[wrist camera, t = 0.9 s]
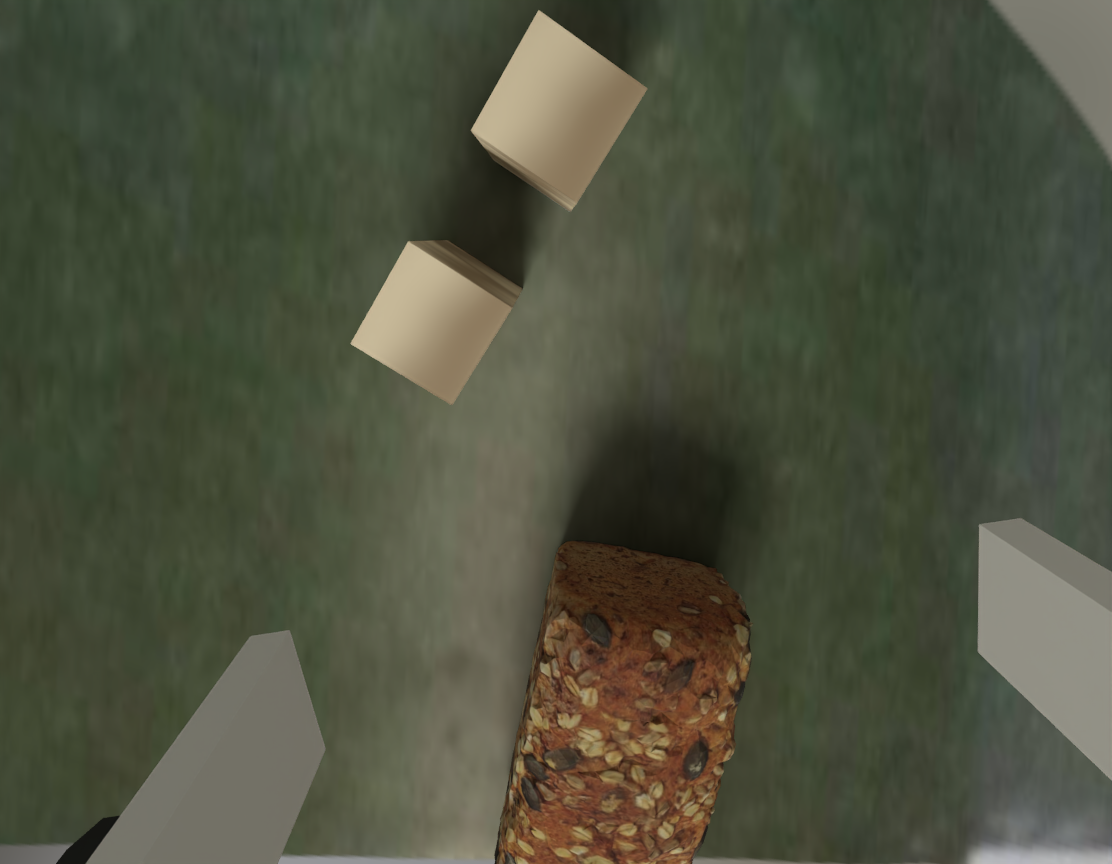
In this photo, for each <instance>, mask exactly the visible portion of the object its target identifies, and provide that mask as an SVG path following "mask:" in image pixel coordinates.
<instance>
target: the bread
mask: <svg viewBox="0 0 1112 864" xmlns="http://www.w3.org/2000/svg"><path fill="white" fill-rule="evenodd" d="M728 584H729V582H727V581H726V580H724V578H723V575H722V574H721V573H718V572H717V570H716V568H710V567H706V566H704V565H702V564H700V563H696V562H692V561H688V560H684V559H680V558H676V557H666V556H663V555H659V554H656V553H650V552H642V551H636V550H631V549H629V548H626V547H624V546H613V545H607V544H601V543H596V542H587V541H567V542H565V543H564V544H562V545H561V546H560V547H559V548H558V553H557V552H556V557H555V561H554V567H553V571H552V578H551V581H550V583H549V585H548V589H547V594H546V598H545V606H544V613H543V618H542V622H541V626H540V630H539V634H538V639H537V644H536V648H535V651H534V655H533V661H532V668H531V671H530V676H529V680H528V685H527V690H526V696H525V700H524V705H523V710H522V715H521V720H520V725H519V729H518V732H517V737H516V743H515V749H514V752H513V757H512V763H511V769H510V774H509V781H508V786H507V792H506V797H505V802H504V807H503V811H502V815H501V818H500V821H501V822H500V827H499V831H498V840H497V845H496V850H495V855H494V856H495V864H692V860H693V859H694V857H695V856H696V854H697V853H698V851H699V849H700V848H701V846H702V844H703V842H704V839H705V835H706V832H707V829H708V826H707V825H708V824H709V823H710V816H711V815H712V813H713V812H714V810H715V809H714V804H715V801H716V798H717V795H718V794H717V791H718V789H719V788H720V783H721V779H720V777H721V776H722V774H723V772H724V767H723V762H724V761H727V760H729V759H730V758H731V756H732V754H733V753H734V750H735V746H736V743H735V740H734V730H735V724H734V719H735V715H736V710H737V706H738V704H739V702H740V700H741V698H742V696H743V692H744V688H745V681H746V680H747V677H748V674H749V670H750V665H751V659H752V658H751V651H750V645H749V640H750V635H751V633H750V627H751V626H752V624H753V623H751V622H750V619H749V617H748V615H747V613H746V607H745V603H744V602H743V601H742V599H741V595H740V594H739V593H737V592H736V591H735V590H733V589H732V588H731V587H730V586H728Z"/></svg>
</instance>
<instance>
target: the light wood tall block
mask: <svg viewBox="0 0 1112 864" xmlns="http://www.w3.org/2000/svg"><path fill="white" fill-rule="evenodd" d="M521 291H522V288H521V287H519V286H518V285H516V284H514V283H513V282H511V281H510V280H508V279H507V278H505V277H504V276H502V275H501V274H499V273H497V272H496V271H494V270H493V269H491V268H490V267H488V266H487V265H485V264H484V263H482V262H481V261H479V260H477V259H476V258H474V257H473V256H471V255H470V254H468V253H467V252H465V251H464V250H462V249H460V248H459V247H457V246H456V245H454V244H453V243H451V242H450V241H448V240H435V241H408V243H407V245H406V246H405V248H404V250H403V252H402V253H401V255H400V257H399V259H398V261H397V262H396V264H395V266H394V268H393V269H392V271H391V273H390V275H389V276H388V278H387V280H386V282H385V284H384V285H383V287H382V289H381V291H380V292H379V294H378V296H377V298H376V300H375V301H374V303H373V305H372V307H371V308H370V310H369V312H368V314H367V315H366V317H365V319H364V321H363V323H362V324H361V326H360V328H359V330H358V331H357V333H356V335H355V337H354V339H353V340H352V342H351V344H352V345H353V346H355V347H357V348H358V349H360V350H362V351H363V352H365V353H367V354H368V355H370V356H371V357H373V358H375V359H376V360H378V361H380V362H381V363H383V364H385V365H386V366H388V367H390V368H391V369H393V370H395V371H396V372H398V373H399V374H401V375H403V376H404V377H406V378H408V379H409V380H411V381H413V382H414V383H416V384H418V385H419V386H421V387H423V388H424V389H426V390H428V391H429V392H431V393H432V394H434V395H436V396H437V397H439V398H441V399H442V400H444V401H446V402H447V403H449V404H451V405H453V403H454V401H455V400H456V398H457V397H458V395H459V393H460V392H461V390H462V388H463V387H464V385H465V384H466V382H467V380H468V379H469V377H470V375H471V374H472V372H473V371H474V369H475V367H476V366H477V364H478V363H479V361H480V359H481V358H482V356H483V354H484V353H485V351H486V350H487V348H488V346H489V345H490V343H491V341H492V340H493V338H494V337H495V335H496V333H497V332H498V330H499V329H500V327H501V325H502V324H503V322H504V320H505V319H506V317H507V316H508V314H509V312H510V311H511V309H512V307H513V306H514V304H515V302H516V300H517V298H518V297H519V295H520V293H521Z"/></svg>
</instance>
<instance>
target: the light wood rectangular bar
mask: <svg viewBox="0 0 1112 864" xmlns="http://www.w3.org/2000/svg"><path fill="white" fill-rule="evenodd" d="M646 90H647V88H646V87H645V86H643V85H642V84H641V83H639V82H638V81H636V80H635V79H634V78H632V77H631V76H629V75H628V74H627V73H625V72H624V71H623V70H621V69H620V68H618V67H617V66H616V65H614V64H613V63H611V62H610V61H609V60H607V59H606V58H605V57H603V56H602V55H600V54H599V53H598V52H596V51H595V50H593V49H592V48H591V47H589V46H588V45H587V44H585V43H584V42H582V41H581V40H580V39H578V38H577V37H575V36H574V35H573V34H571V33H570V32H569V31H567V30H566V29H564V28H563V27H562V26H560V25H559V24H557V23H556V22H555V21H553V20H552V19H551V18H549V17H548V16H546V15H545V14H544V13H542V12H541V11H539V10H538V12H537V14H536V16H535V17H534V19H533V21H532V23H531V25H530V26H529V28H528V30H527V32H526V33H525V35H524V37H523V39H522V40H521V42H520V44H519V46H518V48H517V49H516V51H515V53H514V55H513V56H512V58H511V60H510V62H509V64H508V65H507V67H506V69H505V71H504V72H503V74H502V76H501V78H500V79H499V81H498V83H497V85H496V87H495V88H494V90H493V92H492V94H491V95H490V97H489V99H488V101H487V103H486V104H485V106H484V108H483V110H482V111H481V113H480V115H479V117H478V119H477V120H476V122H475V124H474V126H473V127H472V129H471V131H472V133H473V134H474V135H475V137H476V138H477V139H478V141H479V142H480V143H481V144H482V146H483V147H484V148H485V150H486V151H487V152H488V154H489V155H490V156H491V158H492V159H493V160H494V161H495V162H497V163H498V164H500V165H501V166H503V167H504V168H506V169H507V170H509V171H510V172H511V173H513V174H514V175H516V176H517V177H519V178H520V179H522V180H523V181H525V182H526V183H528V184H529V185H531V186H532V187H534V188H535V189H537V190H538V191H540V192H541V193H543V194H544V195H546V196H547V197H548V198H550V199H551V200H553V201H554V202H556V203H557V204H559V205H560V206H562V207H563V208H565V209H566V210H568V211H569V212H571V210H572V209H573V208H574V206H575V205H576V204H577V202H578V200H579V199H580V197H581V196H582V194H583V192H584V191H585V189H586V187H587V186H588V184H589V183H590V181H591V179H592V178H593V176H594V175H595V173H596V171H597V170H598V168H599V166H600V165H601V163H602V162H603V160H604V158H605V157H606V155H607V154H608V152H609V150H610V149H611V147H612V145H613V144H614V142H615V141H616V139H617V137H618V136H619V134H620V132H621V131H622V129H623V128H624V126H625V124H626V123H627V121H628V120H629V118H630V116H631V115H632V113H633V111H634V110H635V108H636V107H637V105H638V103H639V102H640V100H641V98H642V97H643V95H644V94H645V92H646Z"/></svg>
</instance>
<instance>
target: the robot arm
mask: <svg viewBox="0 0 1112 864" xmlns="http://www.w3.org/2000/svg"><path fill="white" fill-rule="evenodd" d="M978 653H979V654H980V655H982V656H983V657H984V658H985V659H986V660H987V661H988V662H989V663H990V664H991V665H992V666H993V667H994V668H995V669H996V670H997V671H998V672H999V673H1000V674H1001V675H1002V676H1003V677H1004V678H1006V679H1007V680H1008V681H1009V682H1010V683H1011V684H1012V685H1013V686H1014V687H1015V688H1016V689H1017V690H1018V691H1019V692H1020V693H1021V694H1022V695H1023V696H1024V697H1025V698H1026V699H1027V700H1028V701H1029V702H1031V703H1032V704H1033V705H1034V706H1035V707H1036V708H1037V709H1038V710H1039V711H1040V712H1041V713H1042V714H1043V715H1044V716H1045V717H1046V718H1047V719H1048V720H1049V721H1050V722H1051V723H1052V724H1053V725H1055V726H1056V727H1057V728H1058V729H1059V730H1060V731H1061V732H1062V733H1063V734H1064V735H1065V736H1066V737H1067V738H1068V739H1069V740H1070V741H1071V742H1072V743H1073V744H1074V745H1075V746H1076V747H1077V748H1078V749H1080V750H1081V751H1082V752H1083V753H1084V754H1085V755H1086V756H1087V757H1088V758H1089V759H1090V760H1091V761H1092V762H1093V763H1094V764H1095V765H1096V766H1097V767H1098V768H1099V769H1100V770H1101V771H1102V772H1104V773H1105V774H1106V775H1107V776H1108V777H1109V778H1110V779H1111V780H1112V572H1111V571H1109V570H1107V569H1106V568H1104V567H1102V566H1101V565H1099V564H1097V563H1095V562H1094V561H1092V560H1090V559H1089V558H1087V557H1085V556H1084V555H1082V554H1080V553H1079V552H1077V551H1075V550H1074V549H1072V548H1070V547H1069V546H1067V545H1065V544H1063V543H1062V542H1060V541H1058V540H1057V539H1055V538H1053V537H1052V536H1050V535H1048V534H1047V533H1045V532H1043V531H1042V530H1040V529H1038V528H1036V527H1035V526H1033V525H1031V524H1030V523H1028V522H1026V521H1025V520H1023V519H1021V518H1018V519H1011V520H1005V521H998V522H992V523H985V524H979V595H978ZM324 752H325V745H324V742H323V739H322V736H321V732H320V729H319V726H318V722H317V719H316V716H315V712H314V709H313V706H312V703H311V699H310V696H309V693H308V689H307V686H306V683H305V679H304V676H303V673H302V669H301V666H300V663H299V660H298V656H297V653H296V650H295V646H294V643H293V640H292V636H291V633H290V630H288V631H281V632H275V633H268V634H262V635H255V636H250V638H249V639H248V640H247V642H246V643H245V644H244V646H243V647H242V649H241V650H240V651H239V653H238V654H237V655H236V657H235V658H234V660H233V661H232V662H231V664H230V665H229V667H228V668H227V669H226V671H225V672H224V673H223V675H222V676H221V678H220V679H219V680H218V682H217V683H216V684H215V686H214V687H213V689H212V690H211V691H210V693H209V694H208V695H207V697H206V698H205V700H204V701H203V702H202V704H201V705H200V707H199V708H198V709H197V711H196V712H195V713H194V715H193V716H192V718H191V719H190V720H189V722H188V723H187V724H186V726H185V727H184V729H183V730H182V731H181V733H180V734H179V736H178V737H177V738H176V740H175V741H174V742H173V744H172V745H171V747H170V748H169V749H168V751H167V752H166V753H165V755H164V756H163V758H162V759H161V760H160V762H159V763H158V765H157V766H156V767H155V769H154V770H153V771H152V773H151V774H150V776H149V777H148V778H147V780H146V781H145V782H144V784H143V785H142V787H141V788H140V789H139V791H138V792H137V794H136V795H135V796H134V798H133V799H132V800H131V802H130V803H129V805H128V806H127V807H126V809H125V810H124V811H123V813H122V814H121V816H115V817H108V818H103V819H102V820H100V821H99V822H98V823H97V824H96V825H95V826H94V827H92V828H91V829H90V830H89V831H88V832H87V833H86V834H84V835H83V836H82V837H81V838H80V839H79V840H77V841H76V842H75V843H74V844H73V845H72V846H71V847H69V848H68V849H67V850H66V852H65V853H64V854H63V855H62V857H61V858H60V859H59V860H58V862H57V863H56V864H278V861H279V859H280V857H281V854H282V852H283V850H284V847H285V845H286V842H287V840H288V838H289V835H290V833H291V830H292V828H293V826H294V823H295V821H296V819H297V816H298V814H299V811H300V809H301V807H302V804H303V802H304V799H305V797H306V795H307V792H308V790H309V788H310V785H311V783H312V780H313V778H314V776H315V773H316V771H317V768H318V766H319V764H320V761H321V759H322V757H323V754H324Z"/></svg>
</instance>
